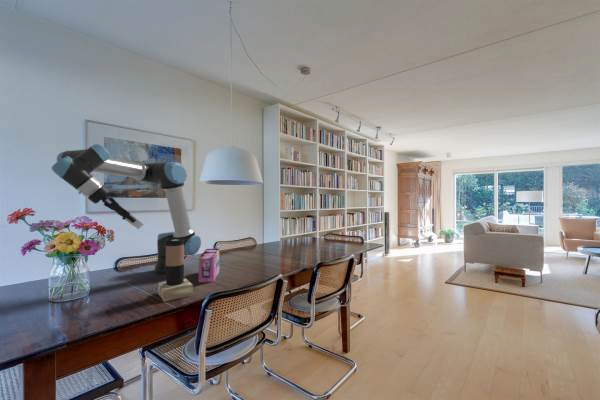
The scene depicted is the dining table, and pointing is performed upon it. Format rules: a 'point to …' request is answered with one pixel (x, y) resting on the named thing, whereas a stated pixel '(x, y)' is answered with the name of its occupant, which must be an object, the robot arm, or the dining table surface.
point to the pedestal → (175, 290)
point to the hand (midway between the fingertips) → (138, 225)
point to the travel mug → (174, 261)
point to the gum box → (208, 265)
